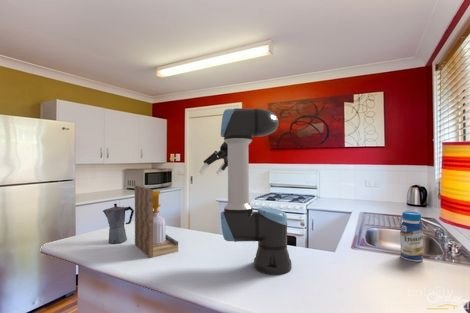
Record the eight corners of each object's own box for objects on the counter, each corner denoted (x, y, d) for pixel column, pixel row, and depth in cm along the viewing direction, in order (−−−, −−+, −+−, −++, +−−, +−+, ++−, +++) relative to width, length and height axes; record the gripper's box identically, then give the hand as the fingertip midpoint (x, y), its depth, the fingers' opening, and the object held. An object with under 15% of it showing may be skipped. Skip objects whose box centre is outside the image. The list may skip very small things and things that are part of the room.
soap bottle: (167, 238, 135) (166, 190, 135) (163, 244, 126) (162, 192, 126) (149, 238, 135) (149, 190, 135) (143, 244, 126) (143, 192, 126)
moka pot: (104, 239, 143) (103, 202, 143) (134, 237, 148) (134, 201, 148) (100, 245, 134) (100, 205, 134) (133, 242, 139) (133, 204, 139)
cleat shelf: (178, 251, 126) (178, 187, 125) (149, 258, 118) (149, 190, 117) (160, 239, 143) (160, 183, 143) (134, 244, 135) (134, 185, 135)
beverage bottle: (418, 255, 119) (418, 211, 119) (426, 263, 111) (426, 215, 111) (397, 254, 122) (397, 210, 121) (403, 261, 113) (403, 214, 113)
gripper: (248, 150, 147) (229, 179, 136) (217, 151, 164) (198, 177, 153) (242, 140, 143) (222, 169, 132) (210, 142, 160) (190, 168, 149)
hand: (209, 173), depth 142 cm, fingers open, 13 cm apart
